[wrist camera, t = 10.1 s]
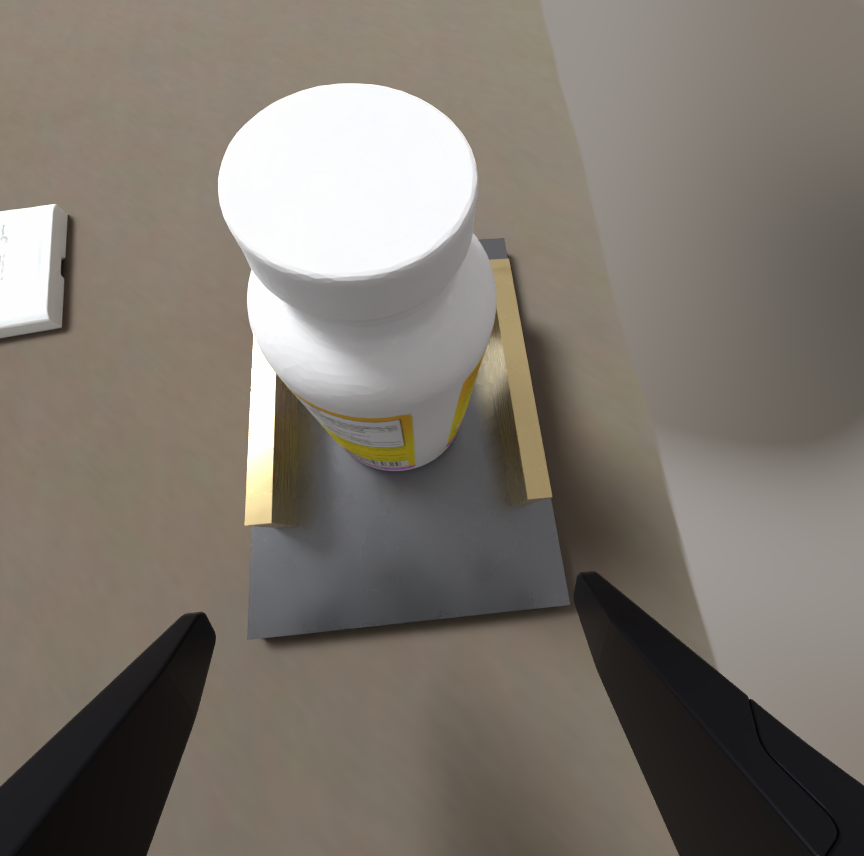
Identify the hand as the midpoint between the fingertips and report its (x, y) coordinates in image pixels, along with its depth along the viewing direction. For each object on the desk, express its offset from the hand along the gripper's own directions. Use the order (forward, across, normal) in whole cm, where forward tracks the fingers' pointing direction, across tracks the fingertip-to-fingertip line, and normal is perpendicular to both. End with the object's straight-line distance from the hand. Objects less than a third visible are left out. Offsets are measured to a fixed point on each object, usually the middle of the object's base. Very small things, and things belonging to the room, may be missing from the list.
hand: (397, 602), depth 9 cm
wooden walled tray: (+12, 0, +1) cm, 12 cm away
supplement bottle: (+11, 0, 0) cm, 11 cm away
